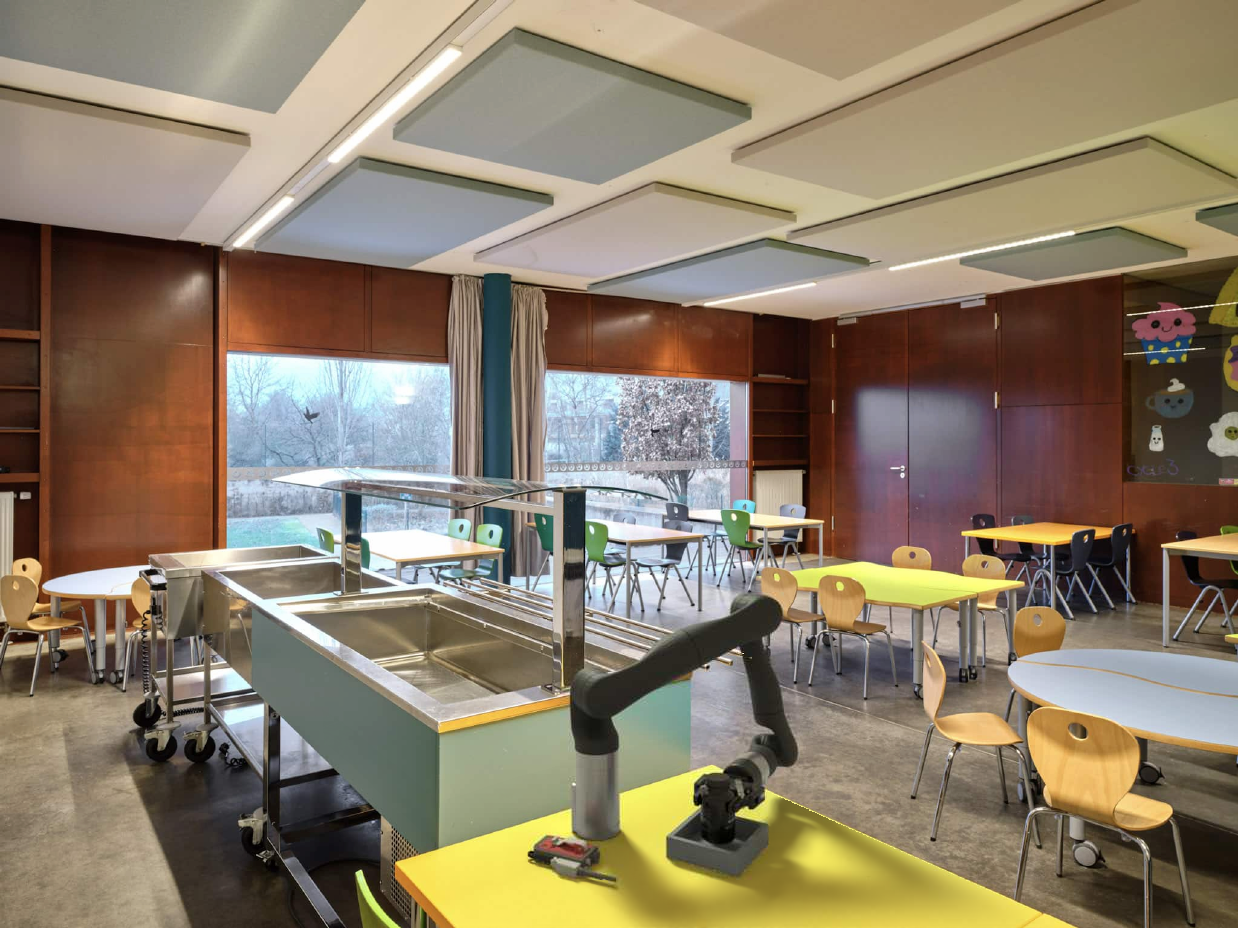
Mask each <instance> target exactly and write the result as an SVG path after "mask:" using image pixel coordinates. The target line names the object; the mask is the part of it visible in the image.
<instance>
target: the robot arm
mask: <svg viewBox="0 0 1238 928" xmlns="http://www.w3.org/2000/svg"><path fill="white" fill-rule="evenodd" d="M783 617H784V610H783V607H782V605H781V603H779V601H777V600H776V599H775V598H774V597H771V596H769V595H766V594H759V593H758V594H757V593H753V592H751V593H750V592H744V593H740V594H738V595H737V596H735V597H734V598H733V600H732V602H731V604H730V610H729V615H727V616H726V615H725V616H724V617H721V618H715V619H713V620H707V621H703V622H697V623H695V624H691V625H687V626H684V627H681V628H680V629H678V630H676V631H674V632H672V633H671V632H670V633H669V634H667V635H665V636H663V637H661V638H659V640H657V641H656V642H655V643H654V644H653V645H652V646H651V647H650V648H649V649H648V650H647V652H646V653H645V654H644V655H643V656H642V657H641V658H640V659H639V660H637V661H636V662H634V663H632V664H630V665H629V666H626V667H624V668H621V669H619V670H616V671H613V672H610V673H608V672H607V671H605V670H604V669H601V668H599V667H596V666H587V667H584V668H583V669H580V670H579V671H577V673H576V674H575V676H574V677H573V679H572V682H571V685H570V689H569V709H570V710H569V712H570V713H569V715H570V730H571V734H572V737H573V741H574V767H575V768H574V774H575V775H574V779H575V780H574V781H575V782H573V783H572V784H571V786H570V796H571V798H570V804H571V807H570V808H571V813H570V814H571V817H570V818H571V831H573V832H575V833H576V834H577V836H579V837H580V838H582V839H584V840H591V841H602V840H609V839H612V838H613V837H615V836H617V835H618V834H619V833H620V830H621V815H620V813H621V810H620V809H621V808H620V807H621V803H620V801H621V799H620V798H621V797H620V796H621V795H620V794H621V792H620V788H621V787H620V784H621V783H620V737H619V732H618V731H617V729H616V727H615V724H614V722H613V718H614V717H615V716H617V715H618V714H620V713H621V712H623V711H625V710H626V709H627V708H629V707H630V706H632V705H633V704H635V703H636V702H638V701H639V700H641V699H643V698H644V697H646V696H647V695H649V694H651V693H653V692H655V691H656V690H659V689H661V688H663V687H664V686H667V685H669V684H670V683H672V682H674V681H676V680H678V679H680V678H682V677H685V676H686V675H688V674H690V673H693V672H694V671H696V670H698V669H700V668H702V667H704V666H705V665H707V664H708V663H709V664H710V662H713V661H714V660H716V659H718V658H720V657H722V656H724V655H725V654H728V653H729V652H731V651H733V650H735V649H737V648H739V650H740V655H741V658H742V662H743V665H744V669H745V672H746V676H747V677H746V678H747V682H748V686H749V687H748V688H749V693H750V700H751V705H752V706H751V707H752V713H753V714H752V716H753V719H754V722H755V724H757V725H758V726H761V727H763V728H767V729H769V730H771V732H773V733H763V732H762V733H759V734H756V735H754V736H753V737H752V739H751V742H750V745H749V748H748V750H747V751H746V752H744V753H743V754H741V755H739V756H738V757H737V758H736V759H734V760H733V761H732V762H730V764H728V765H727V766H726V767H725V768H724V770H723V771H722V773H724V774H727V775H728V776H729V777H730V789H731V790H732V791H733V792H734V794H735V798H734V799H733V800H732V801H731V802H730V803H729V805H728V809H729V814H731V815H733V814H734V813H735V814H737V813H738V812H740V810H744V809H745V808H748V809H749V810H750V811H751V810H755V809H756V808H757V807H758V806H760V805H761V804H762V803H763V802H765V800H766V788H765V786H764V785H765V784H766V782H767V781H768V780H769V778H771V777H772V775H774V774H775V772H776V770H777V767H779V768H780V767H781V768H790V767H793V766H795V764H796V763H797V760H798V757H799V749H798V743H797V741H796V739H795V736H794V734H793V731H792V730H791V728H790V725H789V722H788V720H787V716H786V714H785V707H784V703H783V695H782V688H781V685H780V682H779V679H778V677H777V674H776V672H775V670H774V668H773V666H772V664H771V662H770V660H769V657H768V655H767V653H766V650H765V645H764V641H763V638H765V637H768V636H770V635H771V634H773V633H774V632H776V631H777V629H778V628H780V625H782V624H781V623H782V621H783ZM742 653H744V654H742ZM742 656H743V657H742ZM749 657H754V659H751V658H749ZM706 775H707V773H703V774H702V775H700V777H699V778H698V779H697V780H695V782H694V783H693V795H692V797H693V799H692V801H693V805H694V806H695V807H700V806H701V799H700V797H701V792H702V791H703V789H704V788H706V787H705V777H706Z"/></svg>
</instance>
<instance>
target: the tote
mask: <svg viewBox="0 0 1238 928" xmlns="http://www.w3.org/2000/svg"><path fill="white" fill-rule="evenodd" d="M735 821H736V836H735V839H734V840H733V841H732V842H731V843H729V844H725V845H715V844H710V843H708V842H706V841H704V840H703V838H702V837H701V806H699V808H698V809H697V810H695V811H694V812H693V813H692V814H690V815H689V816H688V817H687V818H686V819H685V820H683V821H682V822H681V823H680V824H679V825H677V826H676V827H675V828H674V829H673V830H671V831H670V832H669V833H668V834H667V835H666V836H665V848H666V849H665V851H666V852H665V853H666V855H665V856H666V858H667V859H671V860H675V861H679V862H683V863H686V864H689V865H692V864H693V865H692V866H695V867H696V866H697V867H700V868H702V867H704V868H703V869H706V868H707V870H709V869H711V871H713V870H716V871H719V872H718V873H720V872H722V873H721V874H723V873H726V874H725V875H727V874H728V876H730V875H732V876H731V877H734V876H735V877H734V878H737V879H738V878H740V877H741V876H742V875H743V873H744V872H745V871H746V870H747V869H748V868H749V867H750V866H751V864H752V863H753V862H754V861H755V860H756V859H757V858H758V856H759V855H760V854H761V853H762V852H763V851H764V850H765V848H767V846H768V845H769V823H766V822H763V821H758V820H755V819H750V818H746V817H741V816H738V815H735ZM762 850H763V851H762ZM755 858H756V859H755ZM754 859H755V860H754ZM752 861H753V862H752ZM747 867H748V868H747ZM744 870H745V871H744ZM716 871H715V872H716ZM740 875H741V876H740ZM739 876H740V877H739Z"/></svg>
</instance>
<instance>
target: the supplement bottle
mask: <svg viewBox="0 0 1238 928" xmlns="http://www.w3.org/2000/svg"><path fill="white" fill-rule="evenodd" d="M706 774H707V773H706ZM705 787H706V788H704V789H703V791H702V792H701V797H700V799H701V805H700V807H701V837H702V838H703V840H704V841H706V842H708V843H710V844H715V845H725V844H729V843H731V842H732V841H733V840H734V839H735V836H736V821H735V816H736V813H734V814H733V815H731V814H729V809H728V805H729V803H730V802H731V801H732V800H733V799H734V798H735V794H734V792H733V791H732V790H731V789H730V777H729V776H728V775H727V774H724V773H723V772H709V773H708V774H707V775H706V777H705Z"/></svg>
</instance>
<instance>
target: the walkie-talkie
mask: <svg viewBox="0 0 1238 928" xmlns="http://www.w3.org/2000/svg"><path fill="white" fill-rule="evenodd" d="M527 857H528V858H530V859H533V860H534V862H537V863H541V864H544V865H545V864H546V865H549V866H550V867H553V870H554V871H555V872H556V874H560V875H563V876H565V877H566V876H567V877H571V878H572V879H576V878H578V877H579V876H580V877H588V878H592V879H595V880H599V881H603V880H605V881H610V882H613V883H617V881H618V879H617V877H615V876H612V875H608V874H604V873H600V872H596V871H593V870H590V867H592V866H593V864H594V865H595V864H598V863H599V861H600V858H601V853H600V851H599V846H598V845H595V844H590V843H589V842H588V841H587V839H583V838H582V839H581V838H580V839H579V838H576V837H574V836H569V837H566V838H564V837H560V835H557V834H556V835H549V834H547V835H545V836H543V837H542V838H541V839H540V840H538V841H537V842H536V843H535V844H533V850H529V851H527Z"/></svg>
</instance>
